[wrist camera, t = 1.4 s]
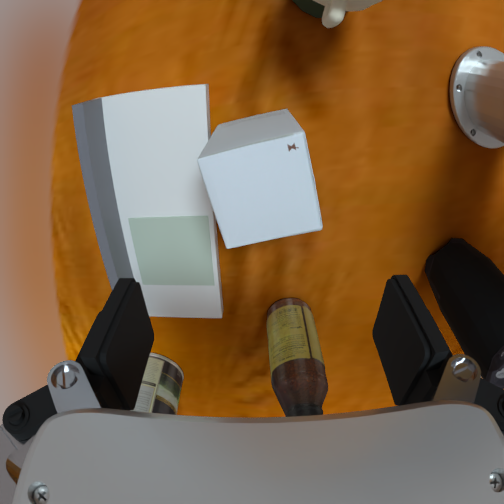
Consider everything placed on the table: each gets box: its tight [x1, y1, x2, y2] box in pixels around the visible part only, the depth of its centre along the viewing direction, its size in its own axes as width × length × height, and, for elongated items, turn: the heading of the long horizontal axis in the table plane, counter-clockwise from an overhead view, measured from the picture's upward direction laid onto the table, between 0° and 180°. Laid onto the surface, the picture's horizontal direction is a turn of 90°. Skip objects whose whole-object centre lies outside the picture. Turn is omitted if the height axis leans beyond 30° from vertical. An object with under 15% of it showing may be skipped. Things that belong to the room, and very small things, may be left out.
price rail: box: [72, 98, 134, 290], centre depth 32 cm, size 1×28×4 cm, turn 1°
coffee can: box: [130, 353, 184, 415], centre depth 45 cm, size 10×10×14 cm
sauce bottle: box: [267, 298, 328, 417], centre depth 35 cm, size 7×6×20 cm
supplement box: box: [197, 109, 322, 249], centre depth 27 cm, size 7×7×13 cm
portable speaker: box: [425, 238, 504, 389], centre depth 31 cm, size 9×9×20 cm
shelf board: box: [96, 84, 223, 318], centre depth 35 cm, size 12×28×2 cm, turn 1°
